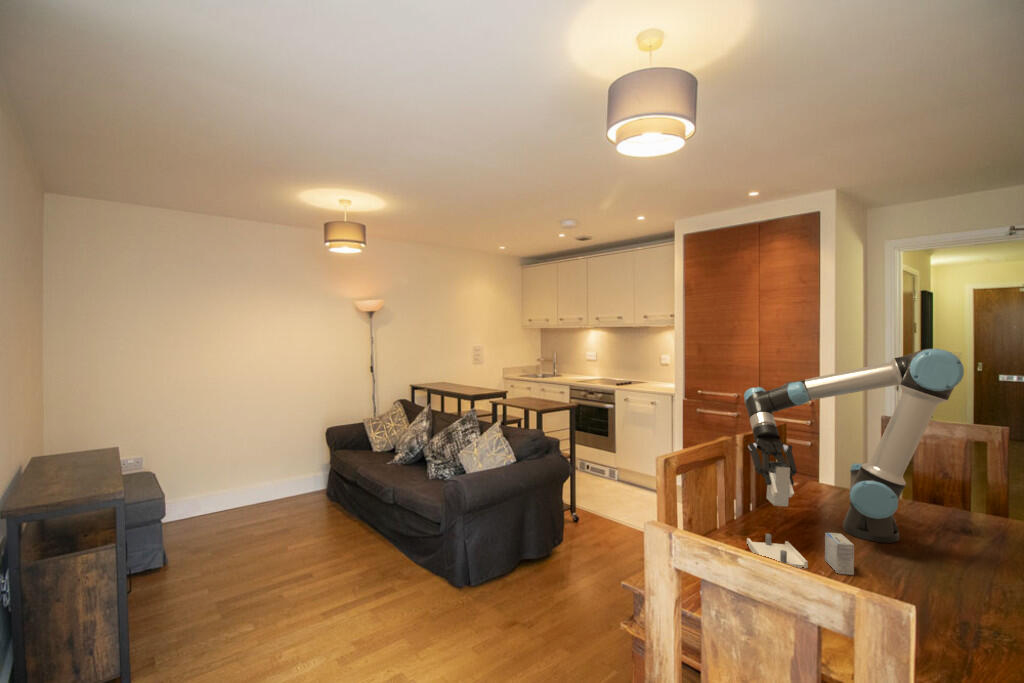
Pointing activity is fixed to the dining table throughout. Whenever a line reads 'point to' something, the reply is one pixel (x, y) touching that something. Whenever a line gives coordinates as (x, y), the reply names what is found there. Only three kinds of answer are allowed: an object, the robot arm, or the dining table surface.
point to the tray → (778, 552)
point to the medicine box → (839, 553)
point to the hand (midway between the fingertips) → (783, 494)
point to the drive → (779, 483)
